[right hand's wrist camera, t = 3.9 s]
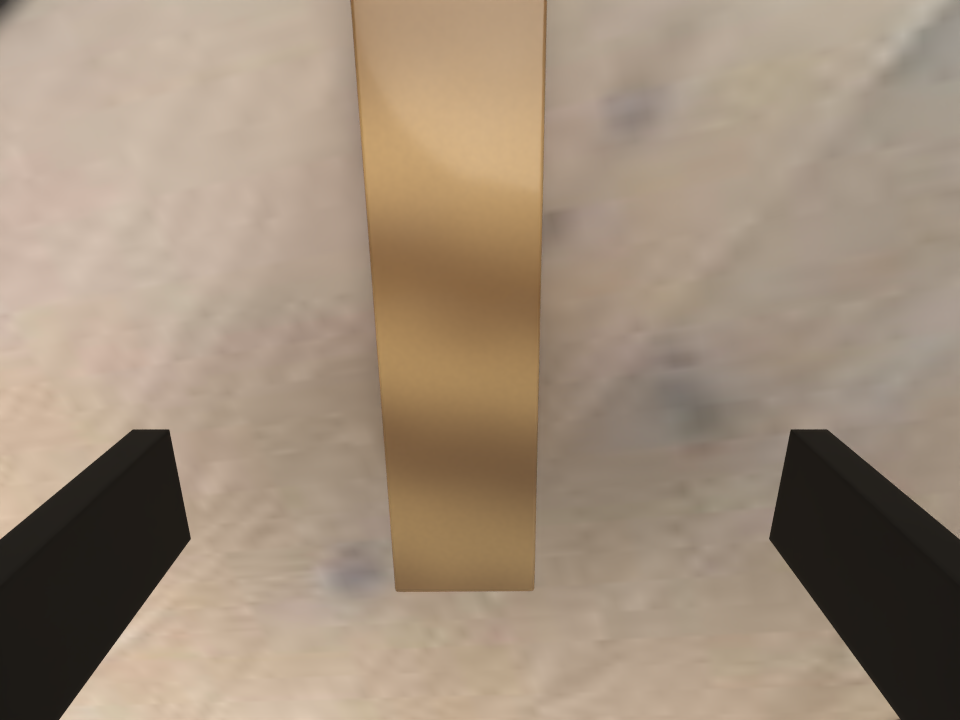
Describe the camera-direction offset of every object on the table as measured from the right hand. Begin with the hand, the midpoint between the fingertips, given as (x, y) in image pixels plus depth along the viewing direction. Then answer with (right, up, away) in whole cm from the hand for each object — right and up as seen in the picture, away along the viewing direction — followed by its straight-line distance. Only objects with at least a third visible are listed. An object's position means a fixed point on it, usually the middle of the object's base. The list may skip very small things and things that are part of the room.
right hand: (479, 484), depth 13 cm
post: (-1, +26, +5) cm, 26 cm away
